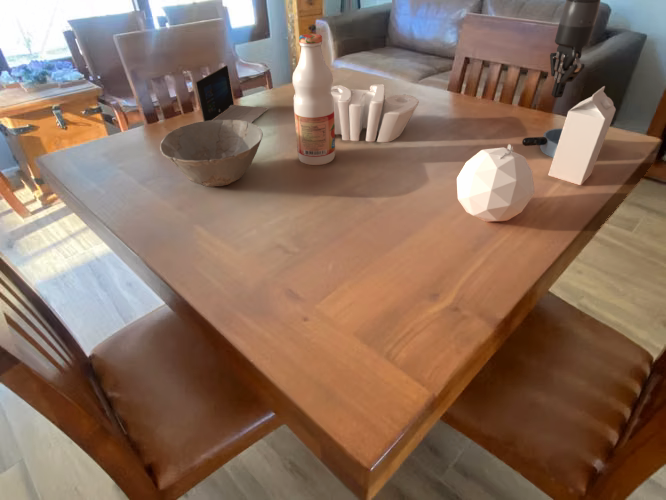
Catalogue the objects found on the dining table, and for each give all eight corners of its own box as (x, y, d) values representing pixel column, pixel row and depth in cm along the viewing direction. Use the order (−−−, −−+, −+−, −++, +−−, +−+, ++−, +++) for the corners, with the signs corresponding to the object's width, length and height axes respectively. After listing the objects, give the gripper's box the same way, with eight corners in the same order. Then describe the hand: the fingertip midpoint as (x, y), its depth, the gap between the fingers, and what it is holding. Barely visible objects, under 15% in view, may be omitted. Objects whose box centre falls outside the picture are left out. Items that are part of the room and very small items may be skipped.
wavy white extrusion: (285, 136, 118) (281, 98, 112) (302, 115, 131) (300, 79, 125) (412, 146, 111) (416, 105, 105) (417, 122, 124) (421, 85, 118)
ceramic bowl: (257, 150, 112) (252, 113, 105) (276, 192, 94) (271, 150, 88) (169, 164, 106) (159, 126, 100) (172, 211, 89) (159, 167, 83)
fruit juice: (291, 155, 109) (280, 35, 92) (322, 146, 113) (318, 29, 95) (309, 169, 102) (301, 42, 85) (342, 159, 106) (341, 36, 89)
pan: (529, 164, 102) (534, 148, 99) (510, 143, 111) (514, 128, 109) (602, 160, 102) (608, 144, 100) (577, 140, 112) (582, 125, 109)
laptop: (243, 131, 122) (235, 85, 114) (204, 127, 125) (194, 82, 117) (268, 110, 135) (263, 67, 127) (233, 107, 139) (226, 64, 131)
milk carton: (547, 176, 97) (574, 91, 85) (559, 165, 101) (586, 82, 89) (580, 186, 93) (613, 98, 81) (591, 174, 97) (624, 89, 85)
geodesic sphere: (467, 159, 91) (468, 121, 78) (538, 171, 86) (552, 133, 73) (448, 222, 89) (445, 194, 76) (520, 239, 84) (531, 212, 70)
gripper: (608, 26, 95) (584, 104, 106) (578, 16, 106) (558, 87, 116) (575, 28, 95) (554, 106, 106) (548, 17, 105) (531, 89, 116)
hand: (556, 96), depth 111 cm, fingers closed
